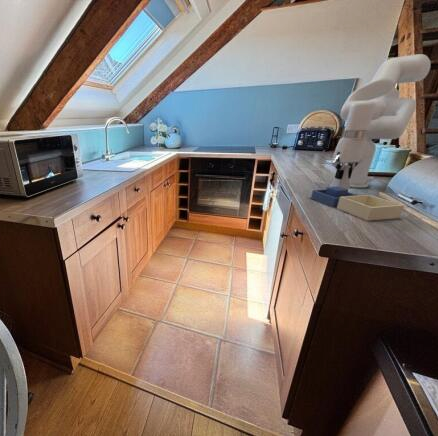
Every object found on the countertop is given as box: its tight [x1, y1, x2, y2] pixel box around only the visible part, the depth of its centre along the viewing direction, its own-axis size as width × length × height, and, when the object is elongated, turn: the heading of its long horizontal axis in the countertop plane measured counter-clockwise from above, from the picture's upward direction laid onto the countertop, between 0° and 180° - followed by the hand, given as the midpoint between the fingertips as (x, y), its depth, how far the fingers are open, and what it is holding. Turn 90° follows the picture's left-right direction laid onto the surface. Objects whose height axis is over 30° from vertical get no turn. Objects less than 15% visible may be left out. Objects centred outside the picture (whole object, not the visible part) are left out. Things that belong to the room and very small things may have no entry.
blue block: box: [325, 186, 349, 198], centre depth 97 cm, size 5×5×5 cm
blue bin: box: [310, 188, 359, 208], centre depth 98 cm, size 11×11×4 cm
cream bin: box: [336, 194, 405, 221], centre depth 86 cm, size 12×12×5 cm
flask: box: [329, 165, 351, 190], centre depth 107 cm, size 7×7×10 cm
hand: (342, 177), depth 107 cm, fingers closed on flask, 3 cm apart
